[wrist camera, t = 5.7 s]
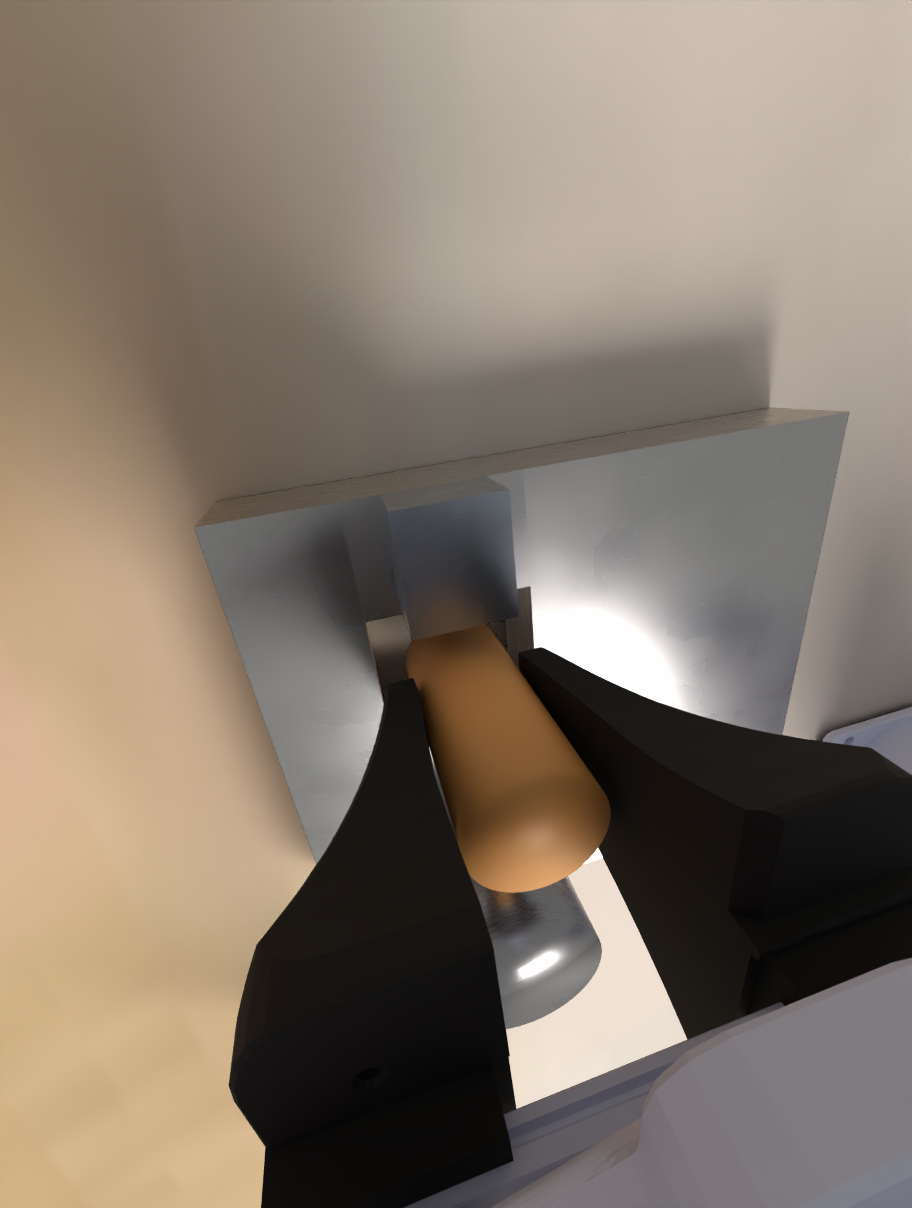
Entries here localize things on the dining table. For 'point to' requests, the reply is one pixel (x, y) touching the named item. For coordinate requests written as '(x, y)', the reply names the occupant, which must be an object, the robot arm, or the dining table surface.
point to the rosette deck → (533, 606)
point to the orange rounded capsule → (504, 765)
